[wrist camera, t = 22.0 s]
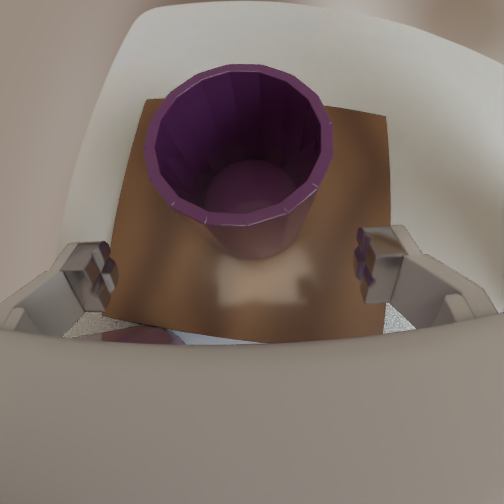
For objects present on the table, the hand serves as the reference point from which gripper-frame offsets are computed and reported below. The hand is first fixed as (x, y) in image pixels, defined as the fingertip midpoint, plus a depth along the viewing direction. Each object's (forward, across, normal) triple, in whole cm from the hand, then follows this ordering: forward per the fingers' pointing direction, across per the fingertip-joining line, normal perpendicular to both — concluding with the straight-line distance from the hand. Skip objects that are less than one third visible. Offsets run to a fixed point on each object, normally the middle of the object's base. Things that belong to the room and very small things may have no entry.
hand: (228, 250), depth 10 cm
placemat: (+11, 0, +5) cm, 12 cm away
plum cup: (+11, 0, +4) cm, 12 cm away
